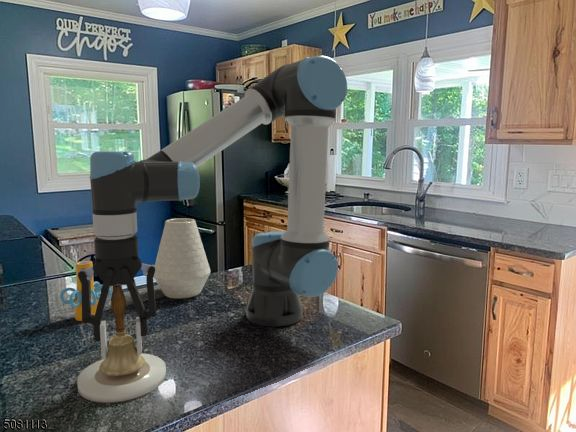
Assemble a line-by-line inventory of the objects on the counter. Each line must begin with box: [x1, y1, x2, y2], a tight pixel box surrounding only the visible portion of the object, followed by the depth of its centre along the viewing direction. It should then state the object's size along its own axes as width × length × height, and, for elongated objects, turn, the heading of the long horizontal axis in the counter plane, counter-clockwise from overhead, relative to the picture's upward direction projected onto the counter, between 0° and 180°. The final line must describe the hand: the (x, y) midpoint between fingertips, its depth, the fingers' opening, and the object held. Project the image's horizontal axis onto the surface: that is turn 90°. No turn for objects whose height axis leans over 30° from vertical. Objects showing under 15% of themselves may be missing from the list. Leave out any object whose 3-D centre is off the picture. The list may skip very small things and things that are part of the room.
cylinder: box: [59, 260, 112, 322], centre depth 115 cm, size 12×10×15 cm
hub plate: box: [76, 352, 167, 404], centre depth 85 cm, size 16×16×2 cm
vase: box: [153, 217, 212, 300], centre depth 135 cm, size 18×17×23 cm
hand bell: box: [99, 284, 145, 376], centre depth 83 cm, size 8×8×16 cm
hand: (122, 353), depth 84 cm, fingers closed on hand bell, 6 cm apart
